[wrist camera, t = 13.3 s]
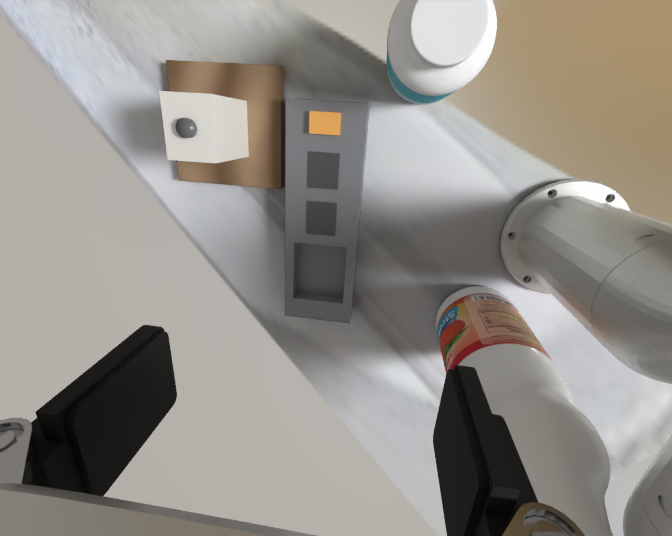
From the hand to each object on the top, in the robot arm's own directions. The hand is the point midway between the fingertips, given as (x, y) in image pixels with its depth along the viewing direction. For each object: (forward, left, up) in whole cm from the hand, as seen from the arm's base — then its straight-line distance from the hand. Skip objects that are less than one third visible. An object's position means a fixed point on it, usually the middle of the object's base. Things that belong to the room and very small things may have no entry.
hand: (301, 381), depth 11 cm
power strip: (+4, +2, -30) cm, 31 cm away
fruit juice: (-15, +13, -30) cm, 36 cm away
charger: (+15, -7, -29) cm, 33 cm away
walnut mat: (+15, -7, -30) cm, 35 cm away
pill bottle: (-5, -14, -31) cm, 34 cm away
